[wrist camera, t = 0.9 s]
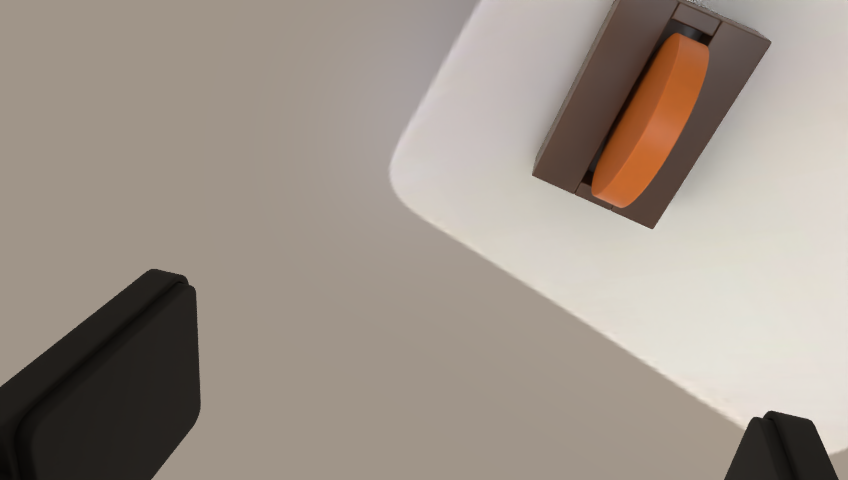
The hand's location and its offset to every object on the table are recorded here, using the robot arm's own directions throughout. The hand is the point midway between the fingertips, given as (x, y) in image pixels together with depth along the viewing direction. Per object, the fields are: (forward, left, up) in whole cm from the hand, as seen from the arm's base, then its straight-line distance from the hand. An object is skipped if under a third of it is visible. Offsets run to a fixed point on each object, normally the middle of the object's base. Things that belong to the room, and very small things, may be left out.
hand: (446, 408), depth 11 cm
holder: (+4, +1, -23) cm, 23 cm away
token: (+4, +1, -22) cm, 23 cm away
